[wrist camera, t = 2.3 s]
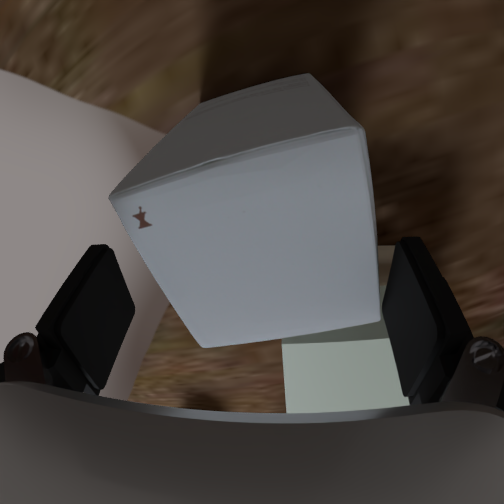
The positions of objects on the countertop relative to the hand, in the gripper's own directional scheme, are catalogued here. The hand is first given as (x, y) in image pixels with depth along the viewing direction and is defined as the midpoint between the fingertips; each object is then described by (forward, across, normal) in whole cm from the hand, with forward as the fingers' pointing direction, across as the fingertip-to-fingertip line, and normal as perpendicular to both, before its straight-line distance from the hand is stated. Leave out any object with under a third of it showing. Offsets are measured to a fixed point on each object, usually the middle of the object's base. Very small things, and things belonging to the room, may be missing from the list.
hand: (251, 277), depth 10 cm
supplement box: (+12, 0, -1) cm, 12 cm away
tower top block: (+8, -7, +13) cm, 17 cm away
